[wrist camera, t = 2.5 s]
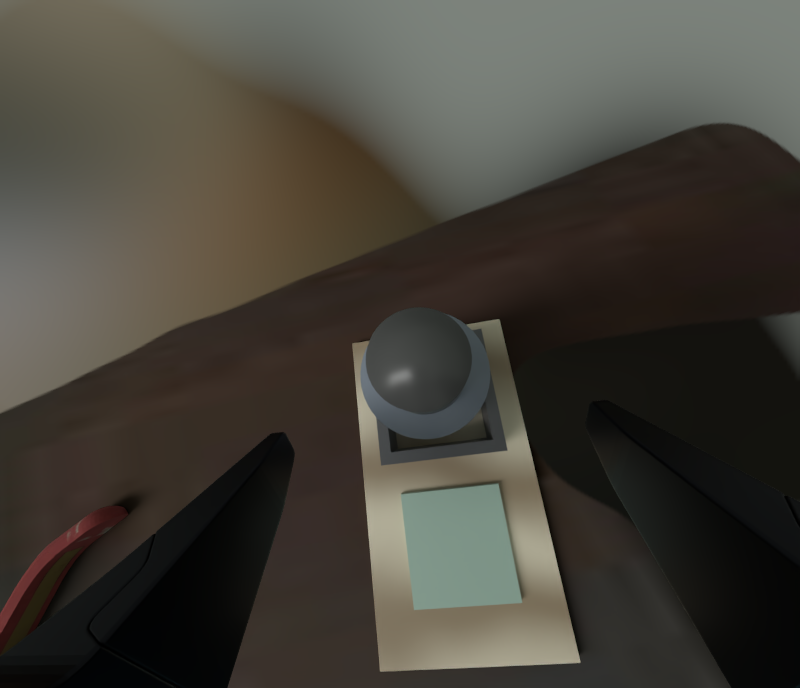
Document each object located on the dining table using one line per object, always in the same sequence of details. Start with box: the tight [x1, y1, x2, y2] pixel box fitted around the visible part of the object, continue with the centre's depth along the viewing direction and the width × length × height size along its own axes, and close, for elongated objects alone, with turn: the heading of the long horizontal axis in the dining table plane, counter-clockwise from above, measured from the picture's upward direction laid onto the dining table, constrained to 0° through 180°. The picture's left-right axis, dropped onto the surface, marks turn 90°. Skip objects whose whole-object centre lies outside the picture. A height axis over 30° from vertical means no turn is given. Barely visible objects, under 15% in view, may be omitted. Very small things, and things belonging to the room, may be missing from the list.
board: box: [353, 319, 581, 672], centre depth 18 cm, size 18×10×1 cm, turn 8°
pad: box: [401, 483, 522, 610], centre depth 16 cm, size 6×6×1 cm
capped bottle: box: [360, 308, 490, 439], centre depth 13 cm, size 4×4×12 cm
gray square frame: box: [376, 329, 508, 466], centre depth 17 cm, size 7×7×2 cm
